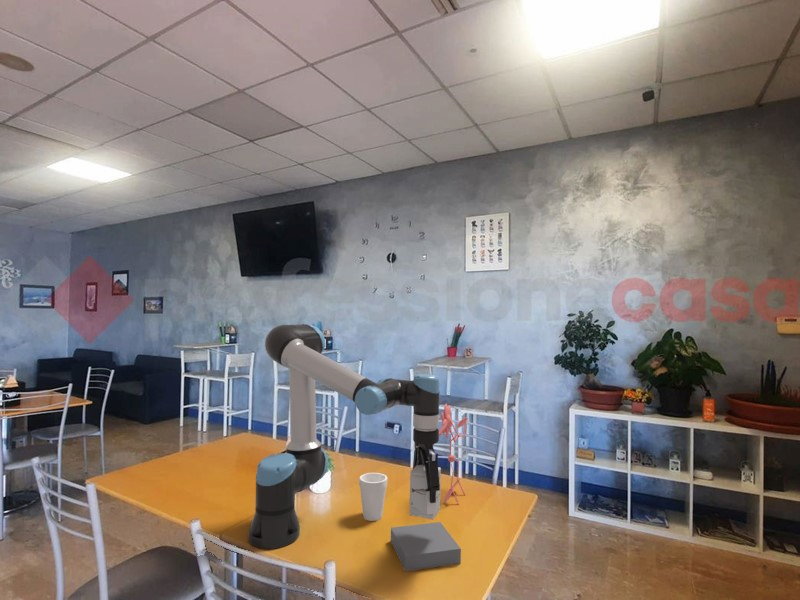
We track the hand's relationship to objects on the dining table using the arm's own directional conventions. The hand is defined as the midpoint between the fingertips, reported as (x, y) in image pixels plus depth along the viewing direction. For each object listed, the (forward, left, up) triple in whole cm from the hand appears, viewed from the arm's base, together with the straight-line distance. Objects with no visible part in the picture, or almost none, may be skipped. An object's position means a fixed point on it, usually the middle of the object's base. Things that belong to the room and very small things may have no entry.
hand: (425, 505), depth 126 cm
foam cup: (-10, +25, -13) cm, 30 cm away
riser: (0, 0, -13) cm, 13 cm away
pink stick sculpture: (+20, +35, -13) cm, 43 cm away
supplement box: (0, 0, -2) cm, 2 cm away
